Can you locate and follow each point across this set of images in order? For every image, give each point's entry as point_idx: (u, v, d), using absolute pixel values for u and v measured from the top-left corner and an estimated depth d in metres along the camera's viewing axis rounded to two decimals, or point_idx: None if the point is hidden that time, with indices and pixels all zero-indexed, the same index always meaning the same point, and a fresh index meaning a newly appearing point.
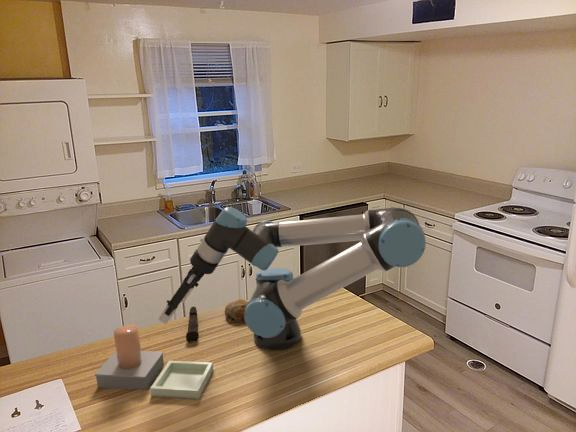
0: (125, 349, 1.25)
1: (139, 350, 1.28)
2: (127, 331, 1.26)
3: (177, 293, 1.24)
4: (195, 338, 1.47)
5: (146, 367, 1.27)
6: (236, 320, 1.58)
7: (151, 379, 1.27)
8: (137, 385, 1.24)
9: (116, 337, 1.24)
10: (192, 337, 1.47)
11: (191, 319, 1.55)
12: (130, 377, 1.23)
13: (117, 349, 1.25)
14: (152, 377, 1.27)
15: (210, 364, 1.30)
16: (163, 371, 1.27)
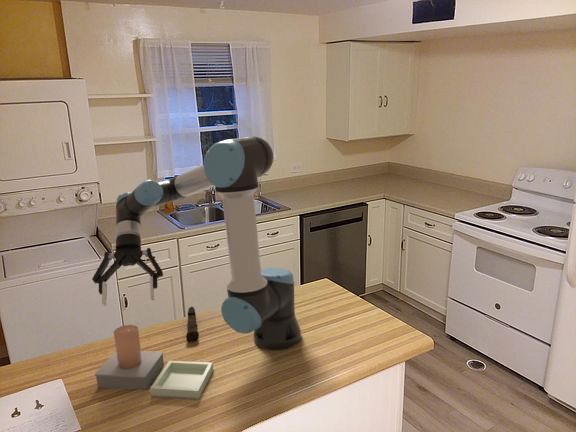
0: (125, 349, 1.25)
1: (139, 350, 1.28)
2: (127, 331, 1.26)
3: None
4: (195, 338, 1.47)
5: (146, 367, 1.27)
6: None
7: (151, 379, 1.27)
8: (137, 385, 1.24)
9: (116, 337, 1.24)
10: (193, 337, 1.47)
11: (190, 319, 1.55)
12: (130, 377, 1.23)
13: (117, 349, 1.25)
14: (152, 377, 1.27)
15: (210, 364, 1.30)
16: (163, 371, 1.27)
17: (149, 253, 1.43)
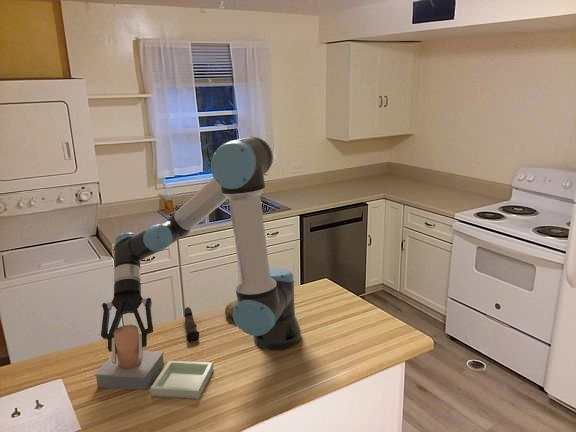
0: (125, 349, 1.25)
1: None
2: (127, 331, 1.26)
3: None
4: (196, 338, 1.47)
5: (146, 367, 1.27)
6: None
7: (151, 379, 1.27)
8: (137, 385, 1.24)
9: (116, 337, 1.24)
10: (193, 337, 1.47)
11: (188, 320, 1.55)
12: (130, 377, 1.23)
13: (117, 349, 1.25)
14: (152, 377, 1.27)
15: (210, 364, 1.30)
16: (163, 371, 1.27)
17: (147, 304, 1.33)
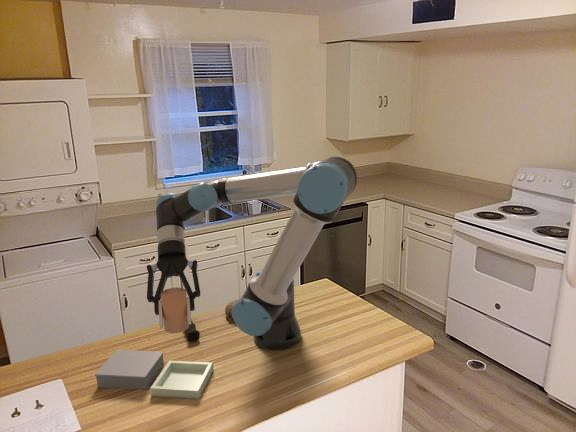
0: (173, 312, 1.17)
1: None
2: (175, 293, 1.19)
3: None
4: (196, 337, 1.47)
5: (146, 367, 1.27)
6: None
7: (151, 379, 1.27)
8: (137, 385, 1.24)
9: (164, 299, 1.17)
10: (194, 337, 1.47)
11: None
12: (130, 377, 1.23)
13: (164, 312, 1.18)
14: (152, 377, 1.27)
15: (210, 364, 1.30)
16: (163, 371, 1.27)
17: (194, 266, 1.25)
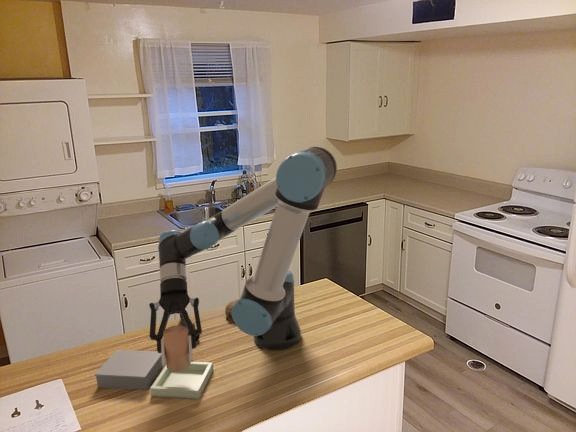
0: (175, 351, 1.21)
1: (188, 352, 1.24)
2: (177, 332, 1.22)
3: None
4: (196, 337, 1.47)
5: (146, 367, 1.27)
6: None
7: (151, 379, 1.27)
8: (137, 385, 1.24)
9: (166, 338, 1.20)
10: None
11: None
12: (130, 377, 1.23)
13: (167, 350, 1.21)
14: (152, 377, 1.27)
15: (210, 364, 1.30)
16: (163, 371, 1.27)
17: (195, 304, 1.29)
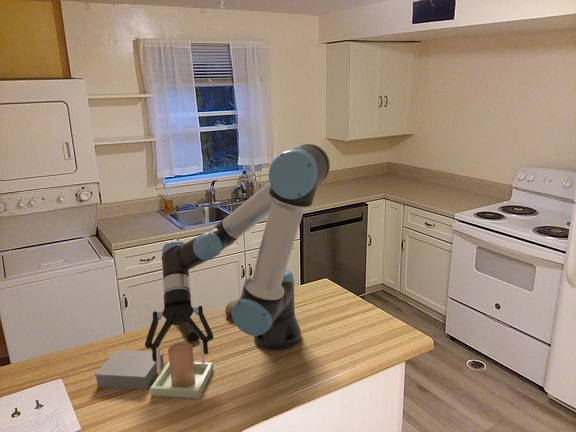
0: (180, 368, 1.22)
1: (193, 368, 1.25)
2: (182, 349, 1.23)
3: None
4: (197, 337, 1.47)
5: (146, 367, 1.27)
6: None
7: (151, 379, 1.27)
8: (137, 385, 1.24)
9: (171, 356, 1.21)
10: (194, 337, 1.47)
11: None
12: (130, 377, 1.23)
13: (172, 368, 1.22)
14: (152, 377, 1.27)
15: (210, 364, 1.30)
16: (163, 371, 1.27)
17: (200, 312, 1.29)
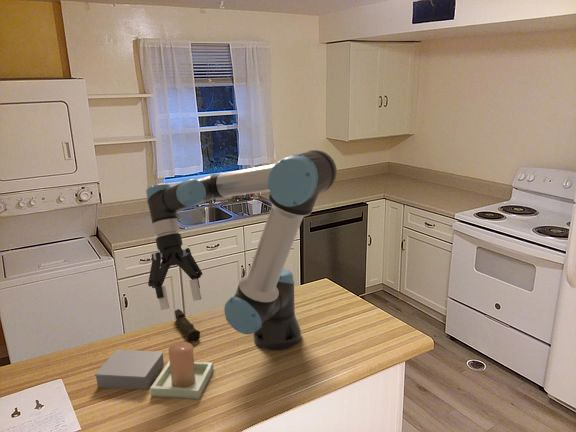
0: (180, 368, 1.22)
1: (193, 368, 1.25)
2: (182, 349, 1.23)
3: (151, 272, 1.31)
4: (197, 337, 1.47)
5: (146, 367, 1.27)
6: None
7: (151, 379, 1.27)
8: (137, 385, 1.24)
9: (172, 355, 1.21)
10: (195, 336, 1.47)
11: (183, 321, 1.54)
12: (130, 377, 1.23)
13: (172, 368, 1.22)
14: (152, 377, 1.27)
15: (210, 364, 1.30)
16: (163, 371, 1.27)
17: (189, 254, 1.43)
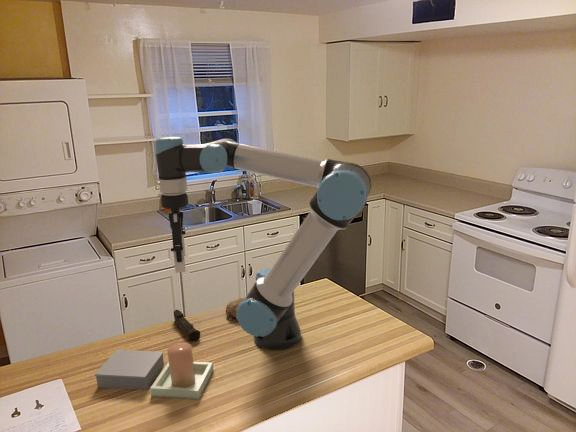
0: (180, 368, 1.21)
1: (193, 368, 1.25)
2: (181, 349, 1.23)
3: (174, 235, 1.24)
4: (197, 337, 1.47)
5: (146, 367, 1.27)
6: None
7: (151, 379, 1.27)
8: (137, 385, 1.24)
9: (171, 356, 1.21)
10: (195, 337, 1.47)
11: (182, 321, 1.54)
12: (130, 377, 1.23)
13: (171, 368, 1.22)
14: (152, 377, 1.27)
15: (210, 364, 1.30)
16: (163, 371, 1.27)
17: (180, 210, 1.37)
